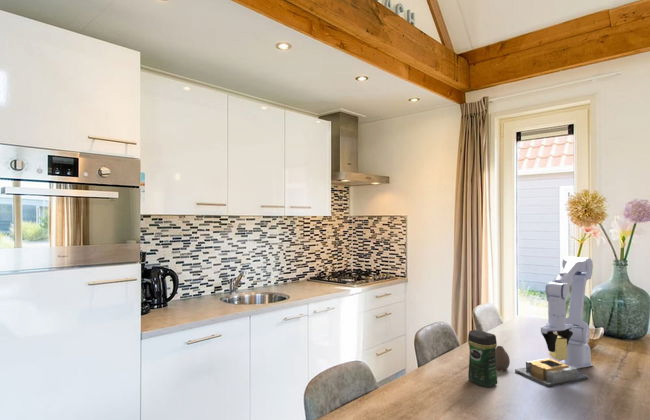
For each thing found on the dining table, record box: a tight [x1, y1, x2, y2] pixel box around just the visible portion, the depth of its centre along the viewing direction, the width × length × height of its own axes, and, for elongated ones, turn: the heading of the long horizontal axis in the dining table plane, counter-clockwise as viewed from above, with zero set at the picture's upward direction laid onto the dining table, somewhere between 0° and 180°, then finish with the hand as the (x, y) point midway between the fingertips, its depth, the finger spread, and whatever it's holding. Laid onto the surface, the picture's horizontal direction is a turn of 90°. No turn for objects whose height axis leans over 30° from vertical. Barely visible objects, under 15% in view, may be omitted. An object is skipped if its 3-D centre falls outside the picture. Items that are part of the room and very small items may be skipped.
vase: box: [495, 345, 511, 372], centre depth 159 cm, size 7×7×9 cm
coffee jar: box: [467, 329, 498, 388], centre depth 146 cm, size 10×8×19 cm
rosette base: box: [514, 357, 589, 388], centre depth 152 cm, size 20×15×5 cm
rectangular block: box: [549, 336, 567, 360], centre depth 151 cm, size 4×4×8 cm
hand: (557, 350), depth 151 cm, fingers closed on rectangular block, 5 cm apart
